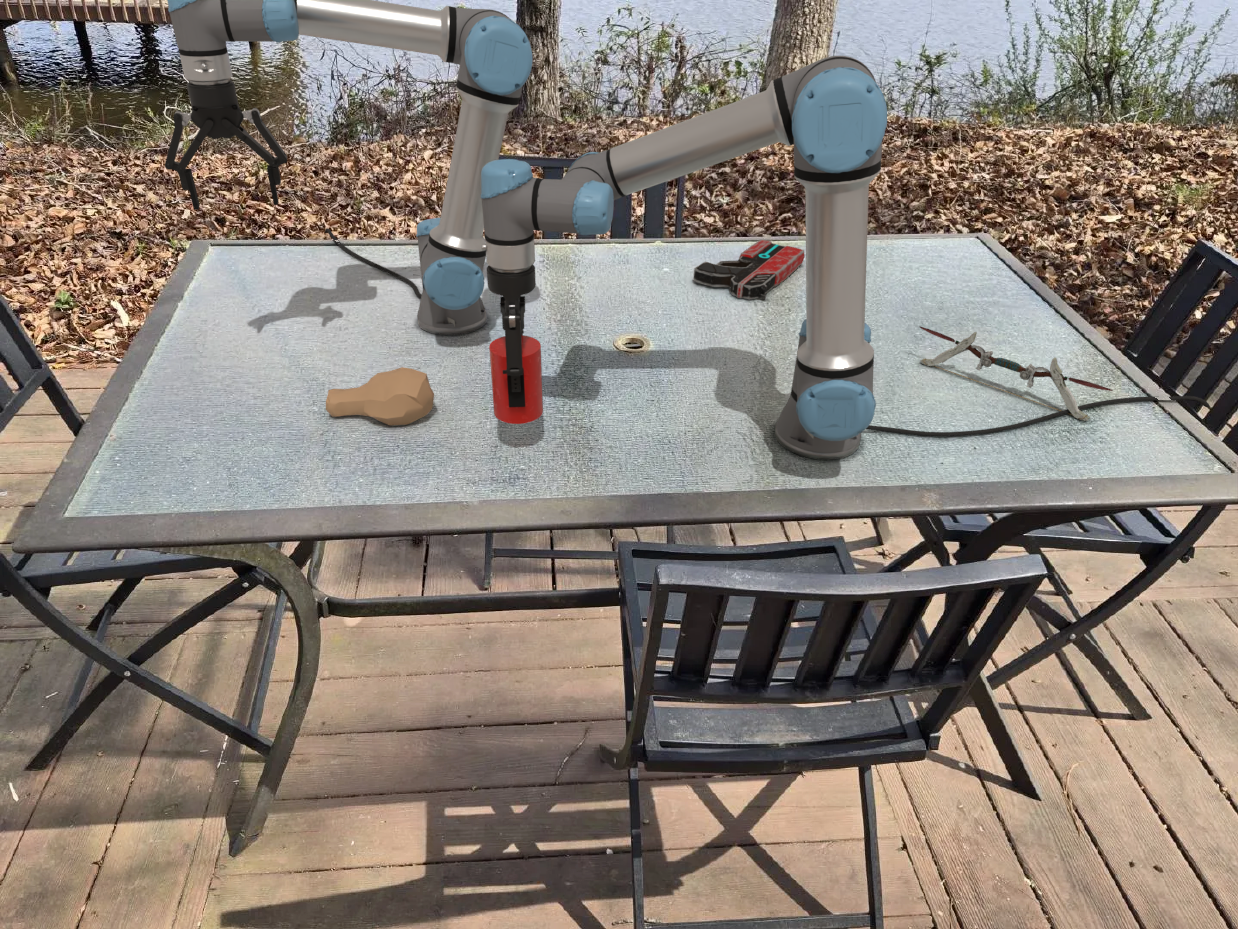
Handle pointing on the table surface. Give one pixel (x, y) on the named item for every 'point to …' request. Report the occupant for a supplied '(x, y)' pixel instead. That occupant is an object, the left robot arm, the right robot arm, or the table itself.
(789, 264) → the gun
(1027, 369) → the bow
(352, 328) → the table surface
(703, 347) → the table surface
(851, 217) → the right robot arm
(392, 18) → the left robot arm
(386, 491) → the table surface
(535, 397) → the tin
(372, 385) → the squash
